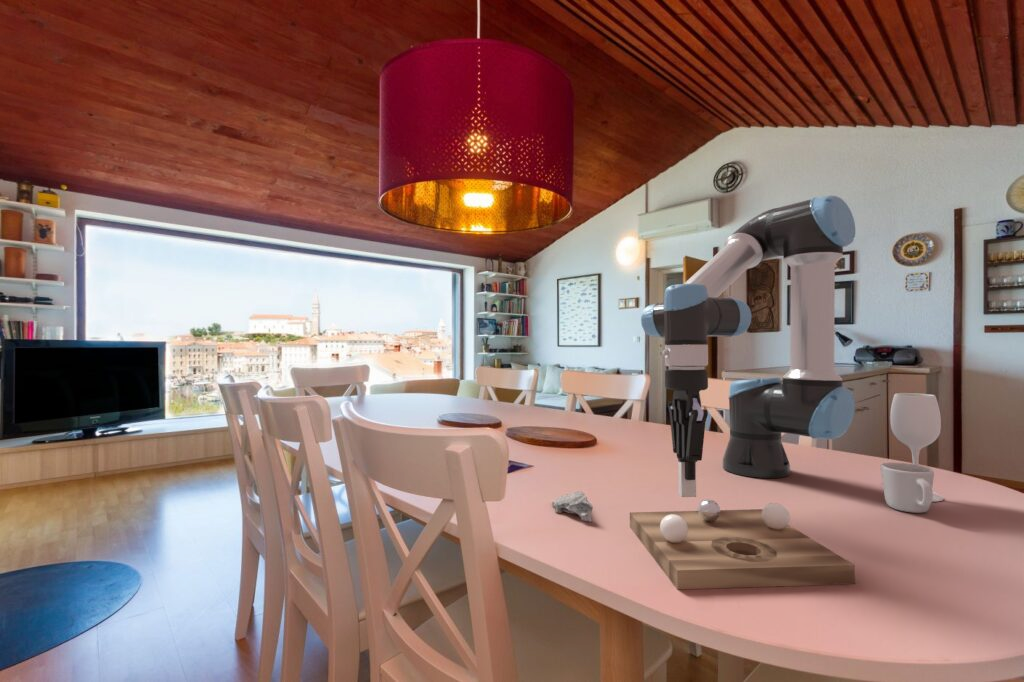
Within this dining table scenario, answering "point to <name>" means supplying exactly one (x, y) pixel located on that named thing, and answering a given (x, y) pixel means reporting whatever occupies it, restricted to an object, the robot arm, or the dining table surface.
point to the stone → (574, 505)
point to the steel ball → (709, 510)
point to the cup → (907, 486)
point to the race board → (739, 552)
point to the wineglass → (916, 423)
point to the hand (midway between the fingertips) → (687, 495)
